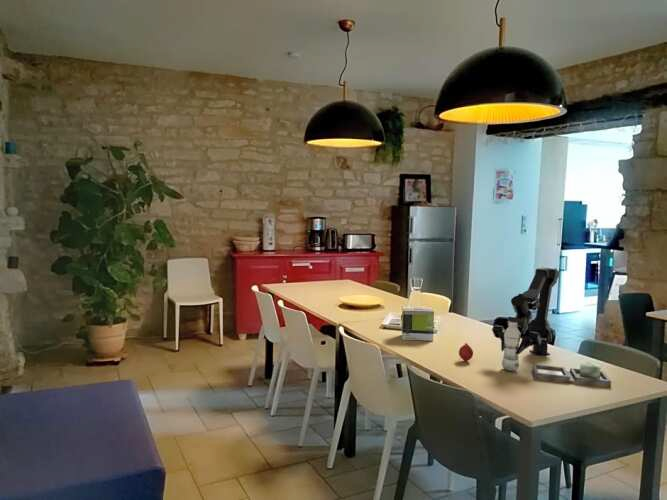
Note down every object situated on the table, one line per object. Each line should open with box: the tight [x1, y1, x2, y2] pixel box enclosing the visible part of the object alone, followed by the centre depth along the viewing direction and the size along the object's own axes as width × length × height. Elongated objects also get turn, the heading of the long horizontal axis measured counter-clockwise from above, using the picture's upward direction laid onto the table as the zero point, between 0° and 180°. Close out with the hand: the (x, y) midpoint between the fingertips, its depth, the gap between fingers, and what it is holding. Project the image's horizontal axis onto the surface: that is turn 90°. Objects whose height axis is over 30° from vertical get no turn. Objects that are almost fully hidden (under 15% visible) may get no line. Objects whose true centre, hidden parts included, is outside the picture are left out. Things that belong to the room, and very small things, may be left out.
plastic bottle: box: [501, 322, 522, 372], centre depth 206 cm, size 6×7×20 cm
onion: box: [458, 342, 474, 362], centre depth 217 cm, size 6×6×8 cm
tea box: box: [401, 306, 435, 342], centre depth 253 cm, size 15×10×15 cm, turn 84°
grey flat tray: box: [531, 361, 612, 389], centre depth 199 cm, size 26×12×6 cm, turn 75°
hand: (509, 352), depth 206 cm, fingers closed on plastic bottle, 6 cm apart
